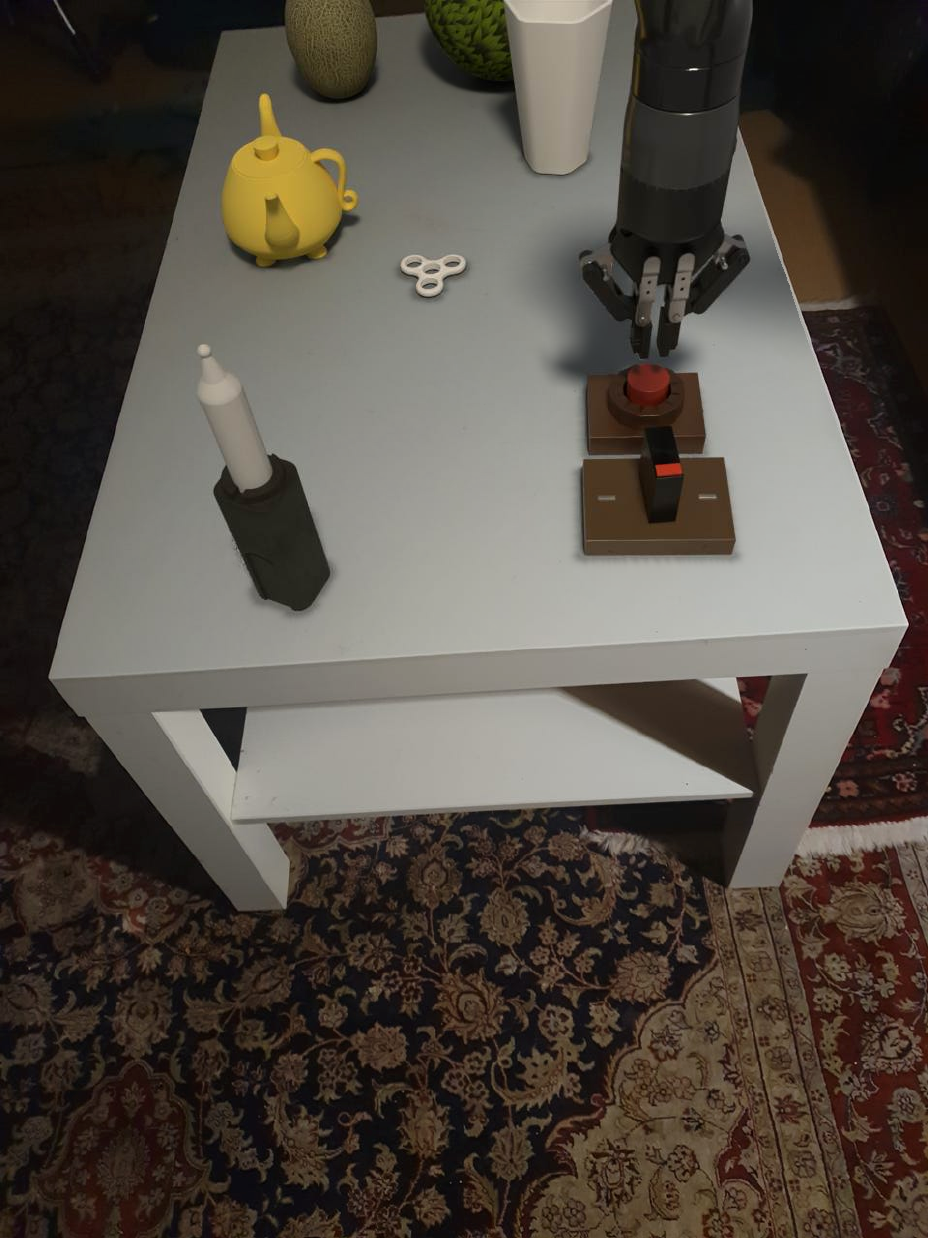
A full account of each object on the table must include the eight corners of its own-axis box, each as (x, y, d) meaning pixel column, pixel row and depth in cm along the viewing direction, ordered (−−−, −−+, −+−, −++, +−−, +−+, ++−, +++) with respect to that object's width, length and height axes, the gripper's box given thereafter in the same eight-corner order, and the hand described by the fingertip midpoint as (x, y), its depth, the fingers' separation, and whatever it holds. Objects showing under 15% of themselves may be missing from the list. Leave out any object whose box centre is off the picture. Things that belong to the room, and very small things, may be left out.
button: (665, 377, 82) (668, 362, 81) (668, 406, 80) (671, 391, 79) (625, 378, 82) (626, 363, 81) (627, 407, 80) (628, 392, 79)
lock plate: (720, 472, 80) (724, 455, 78) (731, 555, 75) (736, 538, 74) (582, 474, 81) (583, 457, 80) (584, 555, 76) (585, 539, 75)
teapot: (372, 284, 98) (354, 183, 88) (234, 306, 98) (200, 207, 88) (355, 179, 109) (337, 79, 99) (231, 198, 109) (201, 100, 99)
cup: (558, 195, 104) (561, 33, 90) (492, 165, 108) (484, 6, 94) (619, 150, 108) (631, -12, 94) (553, 123, 112) (554, -36, 98)
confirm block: (694, 390, 86) (700, 356, 83) (702, 453, 82) (709, 420, 78) (586, 392, 87) (588, 359, 83) (589, 455, 82) (591, 422, 79)
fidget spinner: (467, 258, 99) (466, 252, 98) (461, 297, 95) (461, 291, 95) (402, 259, 100) (402, 253, 99) (395, 298, 96) (394, 291, 96)
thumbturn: (638, 473, 78) (644, 425, 73) (664, 471, 78) (672, 422, 73) (648, 524, 75) (656, 476, 70) (675, 521, 75) (684, 474, 70)
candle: (335, 568, 78) (259, 328, 57) (305, 614, 75) (214, 382, 54) (284, 550, 79) (191, 310, 58) (252, 595, 77) (144, 362, 56)
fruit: (282, 94, 121) (252, -36, 108) (348, 60, 125) (327, -70, 112) (335, 124, 116) (310, -8, 103) (403, 88, 120) (386, -44, 107)
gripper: (763, 112, 65) (723, 315, 79) (571, 132, 65) (566, 330, 80) (790, 173, 61) (742, 374, 75) (585, 194, 61) (576, 390, 76)
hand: (651, 351), depth 77 cm, fingers closed
